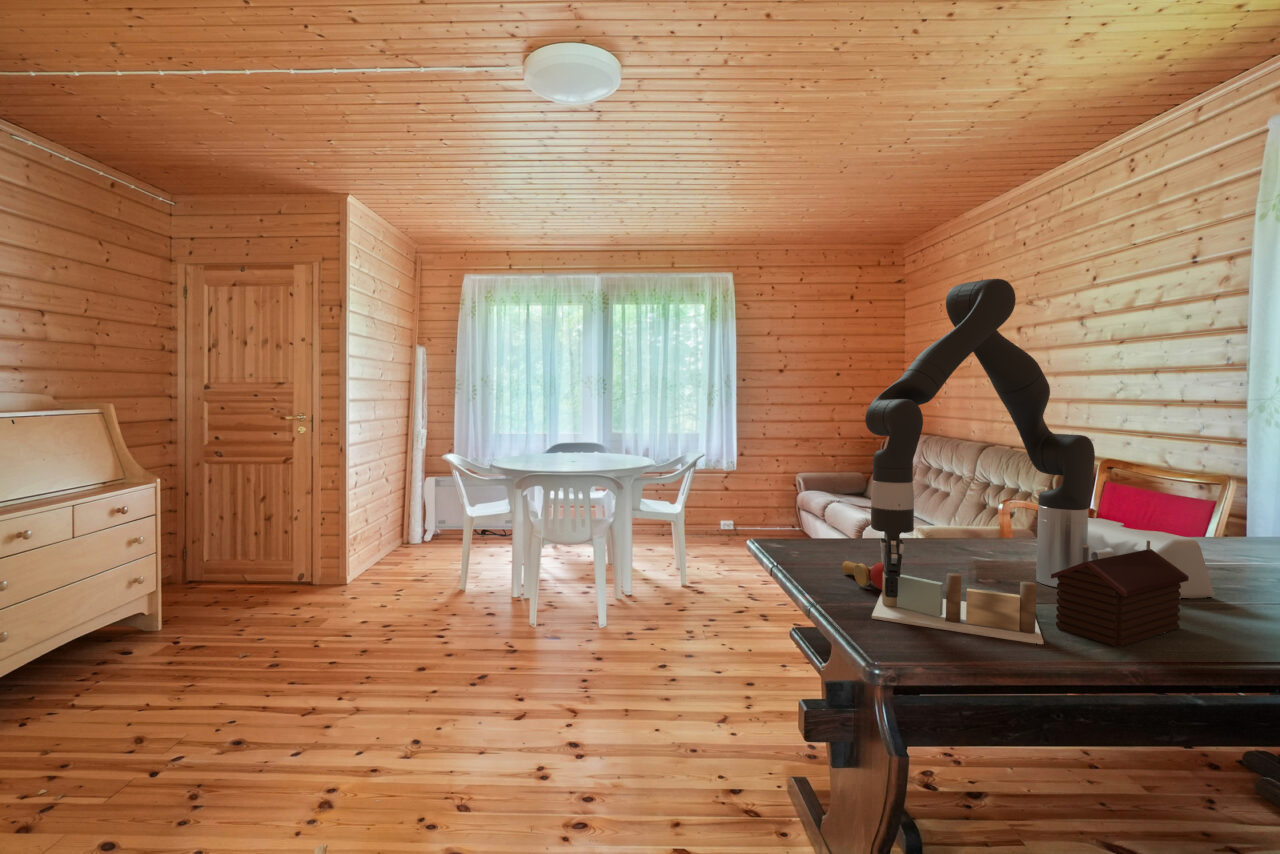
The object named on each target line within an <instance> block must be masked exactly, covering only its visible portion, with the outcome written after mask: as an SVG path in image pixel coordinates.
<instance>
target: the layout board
mask: <svg viewBox="0 0 1280 854" xmlns="http://www.w3.org/2000/svg"><path fill="white" fill-rule="evenodd" d="M882 594H883V590H881V592H880V595H879V597H878V599H877V602H876V604H875V607H874V609H873V611H872V614H871V619H873V620H879V621H885V622H893V623H899V624H906V625H910V626H911V625H912V626H917V627H918V626H919V627H924V628H926V627H927V628H931V629H932V628H933V629H937V630H945V631H951V632H958V633H963V634H964V633H965V634H969V635H970V634H971V635H976V636H984V637H992V638H997V639H1002V640H1003V639H1004V640H1010V641H1017V642H1022V643H1028V644H1029V643H1030V644H1036V643H1037V644H1038V645H1042V644H1043V645H1044V639H1043V636H1042V633H1041V630H1040V627H1039V624H1038V622H1037V620H1036V623H1035V633H1034V634H1030V633H1025V632H1021V631H1020V630H1019V631H1016V630H1009V629H1002V628H995V627H988V626H982V625H975V624H968V623H966V601H964V600H961V618H960V622H950V621H947V620H946V598H943V615H942V616H940V617H938V616H934V615H930V614H926V613H922V612H918V611H913V610H909V609H905V608H901V607H897V606H896V607H892V606H887V605H884V604H883V603H882Z"/></svg>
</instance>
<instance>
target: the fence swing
mask: <svg viewBox="0 0 1280 854" xmlns="http://www.w3.org/2000/svg"><path fill="white" fill-rule="evenodd" d="M882 591H883V594H882V603H883V604H884V605H887V606H892V607H896V606H897V607H901V608H905V609H909V610H913V611H918V612H922V613H926V614H930V615H934V616H938V617H940V616H942V615H943V599H944V582H941V581H934V580H931V579H924V578H920V577H915V576H911V575H907V574H901V575H900V577H899V578H898V597H896V598H891V597H886V595H885V575H884V573H883V590H882Z"/></svg>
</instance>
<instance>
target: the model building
mask: <svg viewBox="0 0 1280 854" xmlns="http://www.w3.org/2000/svg"><path fill="white" fill-rule="evenodd" d="M1052 578H1057V579H1058V581H1059V583H1058V584H1057V587H1056V588H1057V589H1058V590H1057V591H1056V596H1057V598H1056V603H1057V606H1056V611H1057V613H1056V615H1055V617H1056V620H1057V621H1056V622H1055V626H1056V628H1057V629H1059V630H1061V631H1064V632H1068V633H1070V634H1071V633H1072V634H1075V635H1077V636H1081V637H1083V638H1087V639H1090V640H1094V641H1096V642H1100V643H1102V644H1106V645H1108V646H1112V647H1116V646H1117V647H1116V648H1120V647H1121V646H1122V647H1124V645H1125V646H1127V644H1128V645H1130V643H1131V644H1134V643H1137V642H1140V640H1141V641H1143V639H1144V640H1146V638H1147V639H1150V638H1153V637H1156V636H1159V635H1158V634H1160V635H1162V634H1161V633H1163V634H1165V633H1164V632H1166V633H1169V632H1172V631H1175V630H1174V629H1176V630H1178V629H1180V626H1181V625H1180V624H1179V621H1180V619H1181V616H1180V615H1179V613H1181V608H1180V607H1179V606H1180V605H1181V599H1179V597H1180V596H1181V593H1180V592H1179V589H1181V585H1180V583H1182V582H1186V581H1189V576H1188V575H1186V574H1185V573H1184V572H1182V571H1181V570H1179V569H1178V568H1177V567H1175V566H1174V565H1173V564H1171V563H1170V562H1168V561H1167V560H1166V559H1164V558H1163V557H1162V556H1160V555H1159V554H1157V553H1156V552H1155V551H1153V550H1152V549H1150V541H1147V546H1146V550H1142V551H1137V552H1132V553H1127V554H1122V555H1117V556H1112V557H1107V558H1102V559H1097V560H1092V561H1087V562H1084V563H1081V564H1078V565H1075V566H1073V567H1070V568H1067V569H1064V570H1062V571H1059V572H1056V573H1053V574H1051V579H1052ZM1177 628H1178V629H1177ZM1171 630H1172V631H1171ZM1168 631H1169V632H1168ZM1155 635H1156V636H1155ZM1152 636H1153V637H1152ZM1149 637H1150V638H1149ZM1136 641H1137V642H1136ZM1133 642H1134V643H1133Z"/></svg>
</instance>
